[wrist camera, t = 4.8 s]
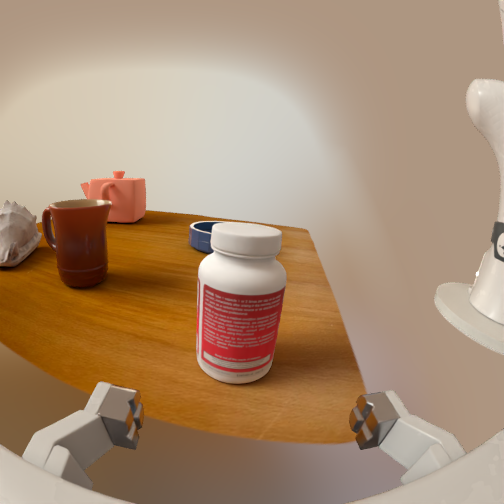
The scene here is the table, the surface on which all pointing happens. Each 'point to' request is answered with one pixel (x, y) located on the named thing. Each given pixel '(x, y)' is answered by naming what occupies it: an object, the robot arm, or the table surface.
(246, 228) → the pill bottle
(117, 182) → the teapot
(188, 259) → the table surface
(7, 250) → the seashell
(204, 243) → the bowl
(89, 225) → the mug
